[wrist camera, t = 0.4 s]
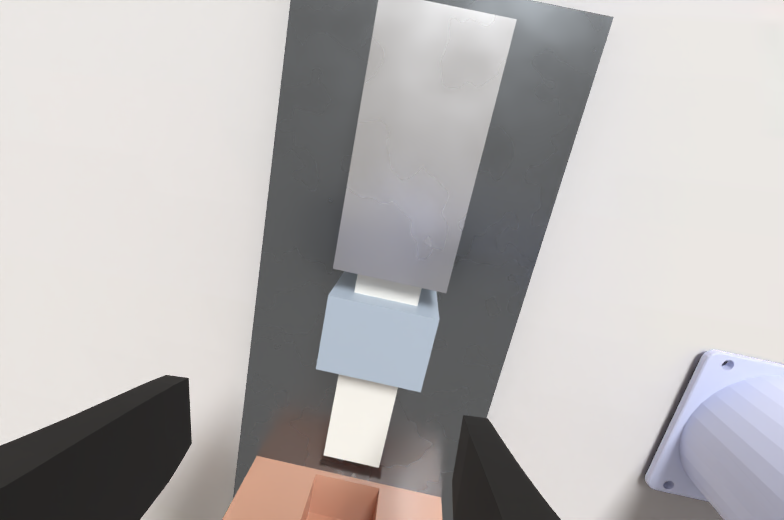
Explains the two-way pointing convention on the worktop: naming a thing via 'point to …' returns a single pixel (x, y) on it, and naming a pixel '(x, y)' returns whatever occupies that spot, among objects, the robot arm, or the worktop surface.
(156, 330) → the worktop surface
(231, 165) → the worktop surface
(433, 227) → the sleeve base
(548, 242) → the worktop surface
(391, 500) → the socket block
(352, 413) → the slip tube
